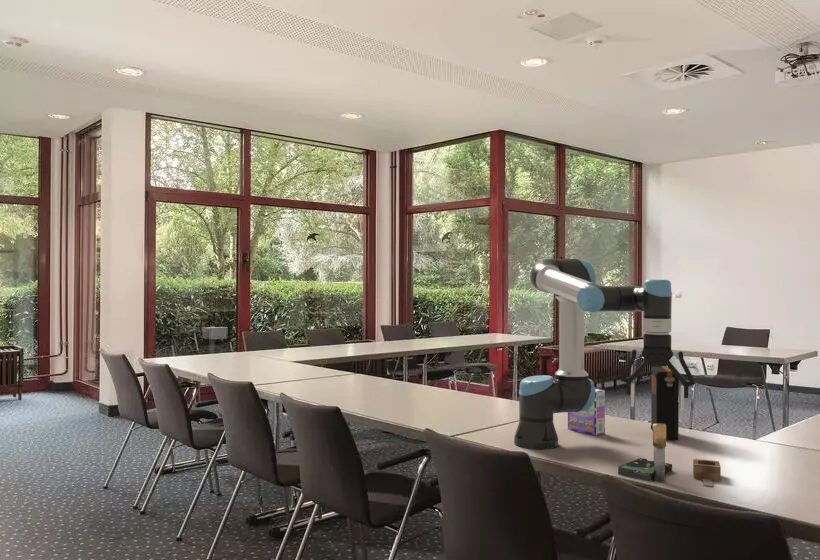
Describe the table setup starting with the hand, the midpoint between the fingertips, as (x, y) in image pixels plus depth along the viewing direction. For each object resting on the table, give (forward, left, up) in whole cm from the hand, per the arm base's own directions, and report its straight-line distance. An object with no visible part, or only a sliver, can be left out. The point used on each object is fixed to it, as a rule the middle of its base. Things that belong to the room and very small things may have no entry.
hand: (657, 407), depth 196 cm
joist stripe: (+13, +9, -21) cm, 26 cm away
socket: (+13, +9, -21) cm, 26 cm away
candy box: (-26, +58, -21) cm, 66 cm away
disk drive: (-3, +7, -21) cm, 23 cm away
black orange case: (+2, +61, -21) cm, 64 cm away
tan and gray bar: (+1, 0, -21) cm, 21 cm away
